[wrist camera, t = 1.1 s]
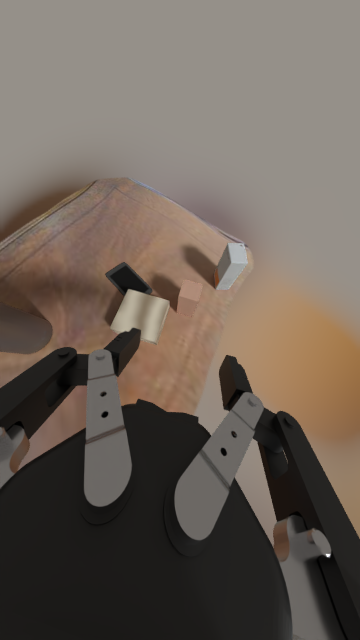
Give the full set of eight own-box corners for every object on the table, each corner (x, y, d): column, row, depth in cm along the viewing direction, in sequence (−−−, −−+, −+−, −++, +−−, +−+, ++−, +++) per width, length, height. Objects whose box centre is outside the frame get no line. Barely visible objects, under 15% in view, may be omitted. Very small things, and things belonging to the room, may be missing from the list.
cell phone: (125, 262, 45) (124, 261, 44) (153, 291, 42) (153, 290, 42) (105, 275, 43) (104, 274, 42) (134, 306, 40) (133, 305, 40)
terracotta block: (176, 312, 40) (178, 295, 31) (180, 299, 41) (184, 279, 32) (191, 317, 40) (198, 301, 30) (195, 303, 41) (203, 284, 32)
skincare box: (213, 273, 45) (227, 242, 34) (226, 274, 45) (244, 242, 34) (215, 290, 43) (230, 262, 32) (228, 290, 43) (249, 263, 32)
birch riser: (117, 333, 37) (109, 328, 33) (133, 298, 41) (128, 288, 36) (157, 345, 37) (155, 342, 32) (169, 308, 41) (169, 300, 36)
